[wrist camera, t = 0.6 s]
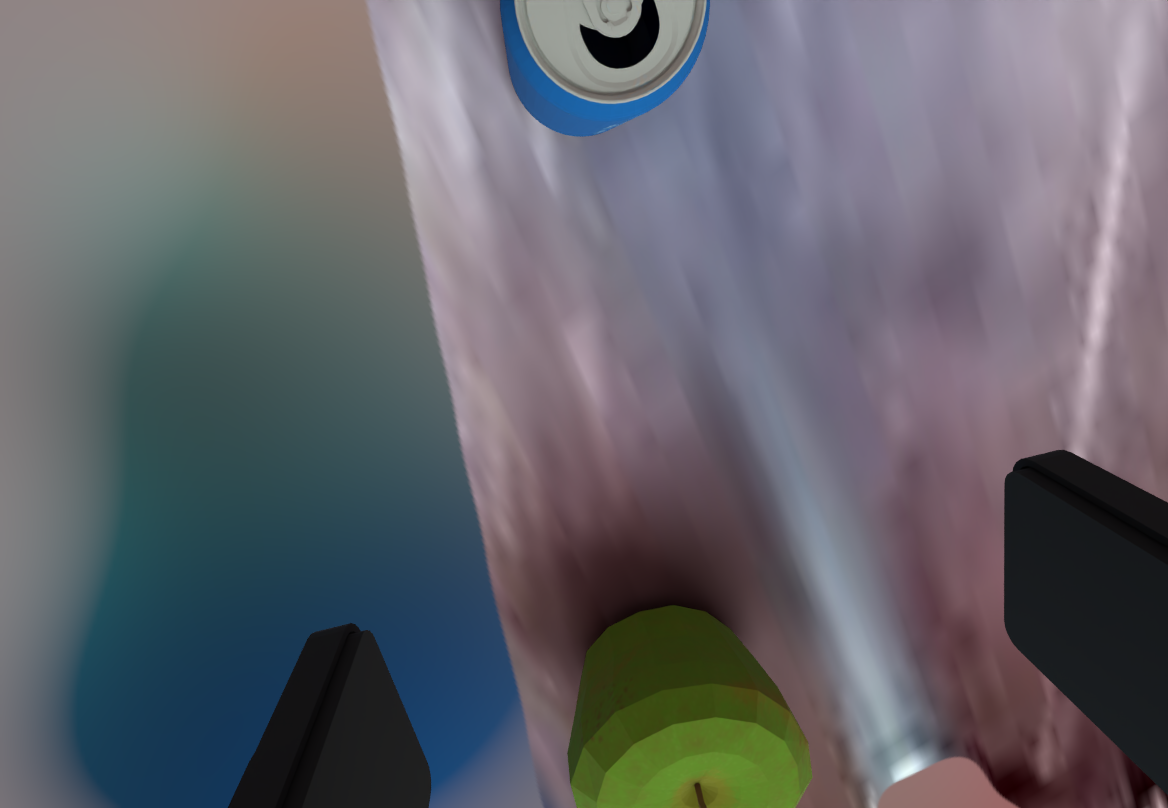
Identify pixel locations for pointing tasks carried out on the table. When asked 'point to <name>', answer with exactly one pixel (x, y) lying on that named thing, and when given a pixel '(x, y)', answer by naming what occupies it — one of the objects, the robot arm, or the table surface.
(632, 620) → the apple
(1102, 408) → the table surface
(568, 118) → the beverage can
